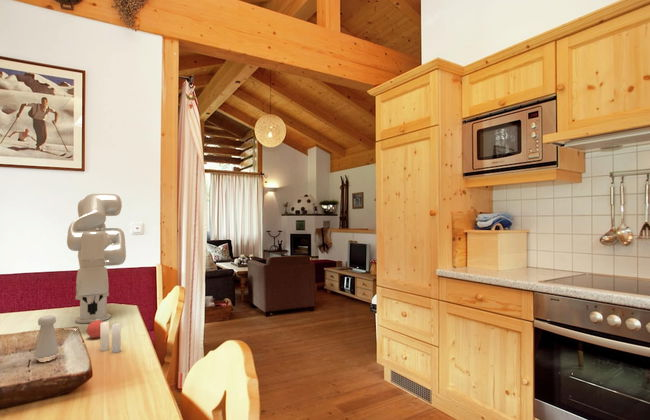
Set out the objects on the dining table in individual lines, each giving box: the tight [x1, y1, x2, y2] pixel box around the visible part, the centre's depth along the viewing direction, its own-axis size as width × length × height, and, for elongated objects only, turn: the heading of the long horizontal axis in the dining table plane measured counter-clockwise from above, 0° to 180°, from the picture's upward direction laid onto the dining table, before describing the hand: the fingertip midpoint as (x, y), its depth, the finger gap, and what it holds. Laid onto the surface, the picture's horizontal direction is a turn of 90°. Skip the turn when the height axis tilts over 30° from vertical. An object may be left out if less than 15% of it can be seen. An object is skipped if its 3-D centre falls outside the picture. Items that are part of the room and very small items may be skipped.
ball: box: [86, 320, 104, 339], centre depth 133 cm, size 6×6×6 cm
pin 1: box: [99, 321, 110, 352], centre depth 121 cm, size 2×2×9 cm
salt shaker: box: [34, 314, 59, 358], centre depth 112 cm, size 6×6×13 cm
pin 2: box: [111, 322, 122, 354], centre depth 119 cm, size 2×2×9 cm
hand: (92, 313), depth 140 cm, fingers closed
